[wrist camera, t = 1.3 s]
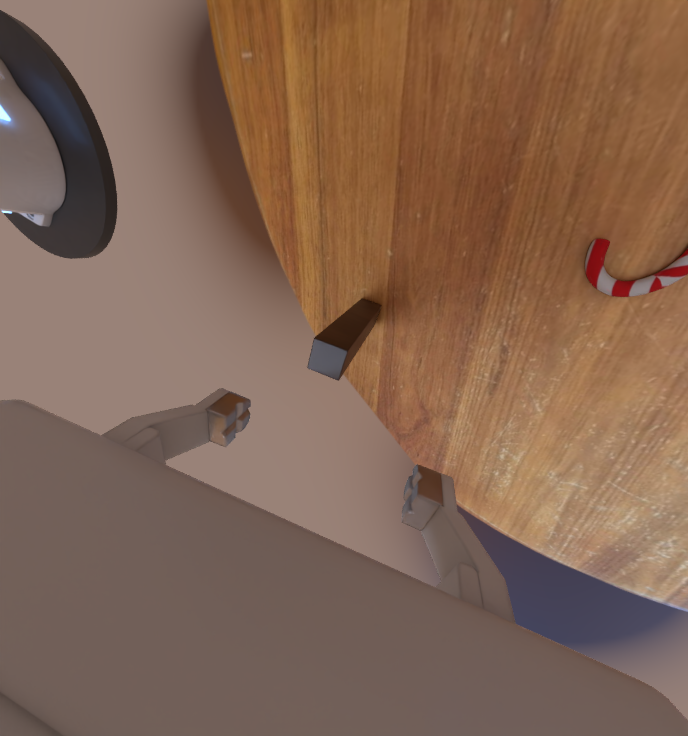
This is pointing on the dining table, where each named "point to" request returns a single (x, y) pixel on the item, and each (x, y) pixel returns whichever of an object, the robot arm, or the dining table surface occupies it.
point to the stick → (343, 339)
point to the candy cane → (629, 288)
